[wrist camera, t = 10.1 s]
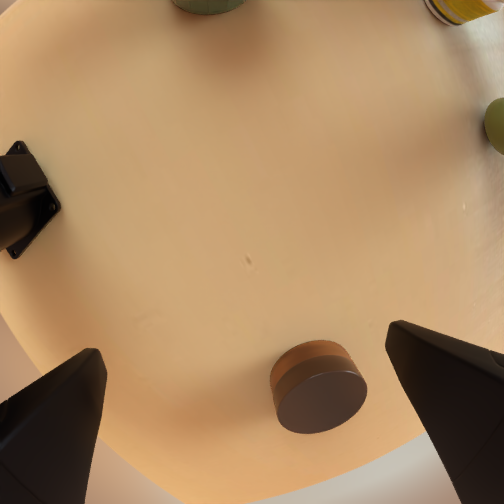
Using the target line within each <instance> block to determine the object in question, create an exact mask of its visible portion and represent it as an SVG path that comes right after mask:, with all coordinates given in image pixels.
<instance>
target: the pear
mask: <svg viewBox="0 0 504 504" xmlns="http://www.w3.org/2000/svg"><path fill="white" fill-rule="evenodd" d="M484 123H485V130H486V134H487V137H488V139H489V141H490V143H491V144H492V146H493V147H494V148H495V149H496V150H497V151H498V152H499V153H501V154H503V155H504V98H499V99H496V100H494V101H493V102H492V103H491V104H490V105H489V106H488V108H487V110H486V113H485V120H484Z"/></svg>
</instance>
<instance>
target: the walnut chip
mask: <svg viewBox="0 0 504 504" xmlns="http://www.w3.org/2000/svg"><path fill="white" fill-rule="evenodd" d="M366 396H367V384H366V382H365V380H364V378H363V377H362V375H361V374H360V372H359V370H358V369H357V367H356V366H355V364H354V363H353V362H352V361H351V360H349V359H347V358H345V357H342V356H338V355H321V356H316V357H312V358H309V359H307V360H304V361H302V362H300V363H298V364H296V365H295V366H293V367H292V368H290V369H289V370H288V371H287V372H286V373H285V374H284V375H283V376H282V377H281V378H280V379H279V381H278V382H277V384H276V386H275V389H274V393H273V400H274V404H275V409H276V413H277V417H278V420H279V422H280V423H281V425H282V426H283V427H285V428H286V429H288V430H290V431H292V432H295V433H301V434H313V433H320V432H324V431H327V430H330V429H333V428H335V427H337V426H339V425H341V424H343V423H344V422H346V421H347V420H349V419H350V418H351V417H352V416H354V415H355V414H356V413H357V412H358V410H359V409H360V408H361V406H362V405H363V403H364V401H365V399H366Z"/></svg>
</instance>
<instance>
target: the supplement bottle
mask: <svg viewBox="0 0 504 504" xmlns="http://www.w3.org/2000/svg"><path fill="white" fill-rule="evenodd" d="M425 2H426V4H427V6H428V8H429V9H430V10H431V12H432V13H433V14H434V15H435V16H436V17H437V18H438V19H440V20H441V21H442V22H444V23H446V24H448V25H451V26H458V25H461V24H464V23H466V22H469V21H471V20H474V19H477V18H479V17H482V16H485V15H488V14H491V13H494V12H497V11H499V10H501V9H502V8H503V4H504V0H425Z"/></svg>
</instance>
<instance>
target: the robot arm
mask: <svg viewBox="0 0 504 504" xmlns="http://www.w3.org/2000/svg"><path fill="white" fill-rule="evenodd" d="M18 146H20V149H19V150H18ZM53 204H54V205H55V210H54V209H53V207H52V205H53ZM60 209H61V204H60V202H59V200H58V199H57V197H56V196H55V194H54V192H53V191H52V189H51V188H50V186H49V185H48V180H47V178H46V176H45V175H44V173H43V171H42V170H41V168H40V166H39V165H38V163H37V161H36V159H35V158H34V156H33V155H32V154H30V152H29V150H28V148H27V147H26V145H25V143H24V142H23V141H16V142H15V143H14V144H13V146H12V147H11V148H10V149H9V151H8V152H7V153H6V155H4V156H0V251H1V250H3V249H5V248H6V250H7V251H8V253H9V254H10V256H11V257H12V258H13V259H17V258H19V257H20V256H21V255H22V253H23V252H24V251H25V250H26V248H27V247H28V246H29V245H30V244H31V242H32V241H33V240H34V239H35V238H36V237H37V235H38V234H39V233H40V232H41V231H42V230H43V229H44V228H45V226H46V225H47V224H48V223H49V222H50V221H51V220H52V219H53V218H54V217H55V216H56V215H57V213H58V212H59V211H60ZM14 250H15V252H16V254H15V252H14ZM385 348H386V351H387V354H388V356H389V358H390V360H391V363H392V365H393V367H394V369H395V372H396V374H397V376H398V379H399V381H400V383H401V385H402V387H403V389H404V391H405V393H406V395H407V396H408V398H409V400H410V402H411V404H412V405H413V407H414V409H415V411H416V413H417V414H418V416H419V418H420V420H421V422H422V424H423V426H424V428H425V429H426V431H427V433H428V435H429V437H430V439H431V441H432V443H433V445H434V447H435V449H436V451H437V452H438V455H439V457H440V459H441V461H442V463H443V464H444V467H445V469H446V471H447V473H448V475H449V477H450V479H451V481H452V482H453V483H452V484H453V486H454V488H455V490H456V493H457V495H458V497H459V499H460V501H461V503H462V504H504V354H501V353H498V352H495V351H492V350H490V351H489V350H488V349H486V348H483V347H480V346H477V345H474V344H471V343H468V342H465V341H462V340H459V339H456V338H453V337H450V336H447V335H444V334H441V333H438V332H436V331H433V330H430V329H427V328H424V327H421V326H418V325H415V324H412V323H409V322H407V321H404V320H398V321H394V322H391V323H390V325H389V328H388V333H387V337H386V342H385ZM106 382H107V370H106V367H105V364H104V361H103V359H102V356H101V353H100V351H99V350H98V349H96V348H86V349H84V350H82V351H81V352H79V353H78V354H76V355H75V356H73V357H71V358H70V359H68V360H67V361H65V362H64V363H62V364H61V365H59V366H58V367H56V368H54V369H53V370H51V371H50V372H48V373H47V374H45V375H44V376H42V377H41V378H39V379H38V380H36V381H34V382H33V383H31V384H30V385H28V386H27V387H25V388H24V389H22V390H21V391H19V392H18V393H16V394H15V395H13V396H11V397H10V398H9V399H8V400H5V401H4V402H2V403H1V404H0V504H84V503H85V496H86V490H87V484H88V478H89V473H90V468H91V462H92V457H93V452H94V448H95V443H96V439H97V434H98V430H99V426H100V421H101V417H102V410H103V403H104V395H105V388H106Z"/></svg>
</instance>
